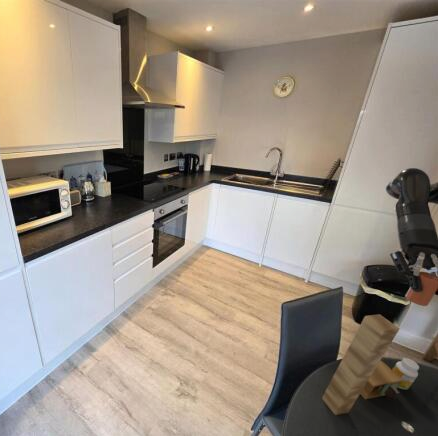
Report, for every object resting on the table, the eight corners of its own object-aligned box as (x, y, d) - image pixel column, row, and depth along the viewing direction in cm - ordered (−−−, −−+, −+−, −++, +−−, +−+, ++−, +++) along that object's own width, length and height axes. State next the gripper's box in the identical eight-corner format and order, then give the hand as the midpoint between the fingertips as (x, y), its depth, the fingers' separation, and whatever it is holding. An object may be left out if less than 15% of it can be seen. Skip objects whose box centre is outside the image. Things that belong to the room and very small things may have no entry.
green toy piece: (390, 390, 82) (397, 381, 80) (400, 400, 79) (407, 390, 77) (379, 393, 81) (385, 383, 79) (389, 402, 78) (396, 392, 76)
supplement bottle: (385, 371, 89) (397, 353, 86) (405, 380, 87) (418, 361, 83) (390, 384, 85) (403, 365, 81) (410, 393, 83) (425, 373, 79)
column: (334, 395, 80) (379, 314, 67) (348, 412, 76) (400, 328, 62) (321, 398, 79) (364, 315, 66) (335, 415, 75) (384, 330, 61)
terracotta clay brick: (412, 294, 70) (426, 271, 66) (431, 305, 66) (447, 281, 63) (400, 295, 69) (414, 272, 66) (419, 306, 65) (435, 282, 62)
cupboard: (372, 373, 88) (381, 360, 86) (393, 393, 82) (403, 379, 79) (345, 378, 86) (353, 364, 83) (365, 399, 80) (374, 385, 77)
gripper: (434, 241, 72) (448, 300, 66) (378, 233, 75) (386, 289, 69) (460, 232, 65) (478, 297, 59) (397, 224, 68) (409, 285, 62)
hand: (429, 292), depth 64 cm, fingers closed on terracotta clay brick, 4 cm apart
